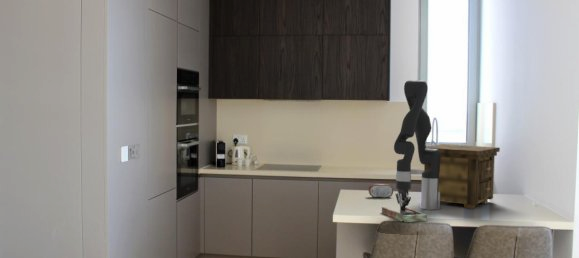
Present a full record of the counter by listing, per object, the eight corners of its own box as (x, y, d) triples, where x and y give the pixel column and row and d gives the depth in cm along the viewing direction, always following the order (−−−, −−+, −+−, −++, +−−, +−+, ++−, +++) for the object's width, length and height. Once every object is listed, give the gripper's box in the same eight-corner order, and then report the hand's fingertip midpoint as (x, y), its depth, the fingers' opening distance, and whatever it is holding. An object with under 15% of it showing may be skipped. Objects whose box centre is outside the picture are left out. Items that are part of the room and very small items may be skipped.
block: (408, 217, 293) (408, 210, 293) (413, 219, 288) (413, 212, 288) (399, 217, 292) (400, 210, 291) (404, 219, 287) (404, 212, 287)
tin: (392, 197, 354) (392, 183, 353) (393, 198, 351) (393, 184, 350) (368, 197, 353) (368, 183, 353) (369, 197, 350) (369, 184, 350)
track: (403, 211, 306) (403, 206, 306) (427, 220, 283) (427, 214, 283) (381, 212, 303) (381, 207, 302) (403, 222, 280) (403, 216, 280)
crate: (441, 195, 361) (443, 144, 360) (497, 202, 340) (499, 147, 339) (418, 203, 334) (419, 147, 332) (477, 210, 312) (479, 151, 311)
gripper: (416, 181, 288) (415, 215, 289) (403, 177, 300) (403, 210, 301) (402, 181, 286) (402, 216, 287) (390, 178, 298) (390, 211, 299)
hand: (402, 213), depth 294 cm, fingers closed
